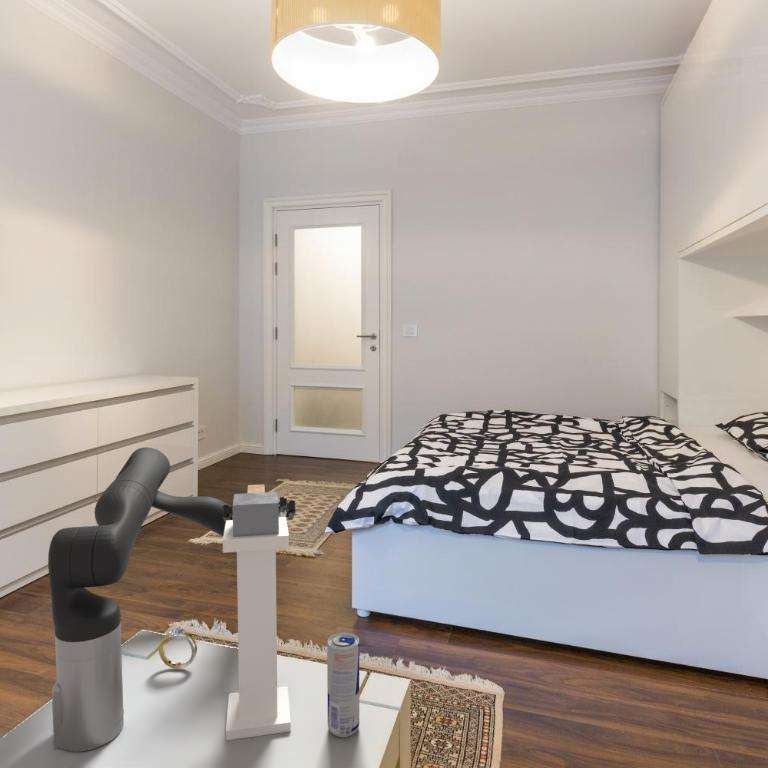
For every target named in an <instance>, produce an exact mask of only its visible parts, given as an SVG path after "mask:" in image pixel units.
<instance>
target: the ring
mask: <svg viewBox="0 0 768 768" xmlns="http://www.w3.org/2000/svg"><path fill="white" fill-rule="evenodd" d="M175 638H176V639H177V638H179V639H182V640H183V639H184V640H185V641H187V643H188V645H189V646H190V649H191V655H190V656H191V657H190V658H189V660H188V661H186V662H183V663H181V662H177V663H176V662H173V661H172V660H170V659H169V658H168V656H167V654H166V652H165V645H166V643H167V642H169V641H171V640H173V639H175ZM197 652H198V643H197V640H196V639H195V637H194V636H193V635H192V634H191V633H190V632H188V631H187V630H186V629H185V628H183V627H181V626H175V627H174V628H173V630H172V629H168V630H167V633H166V635H164V637H163V638H162V640H161V642H160V643H159V645H158V655H159V657H160V659H161V661H162V662H163V663H164V664H165V665H166V666H168V667H169V668H171V669H173V670H175V669H179V670H182V669H186V668H187V667H189V666H190V665H191V664H192V662H194V660H195V659H196V656H197Z"/></svg>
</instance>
